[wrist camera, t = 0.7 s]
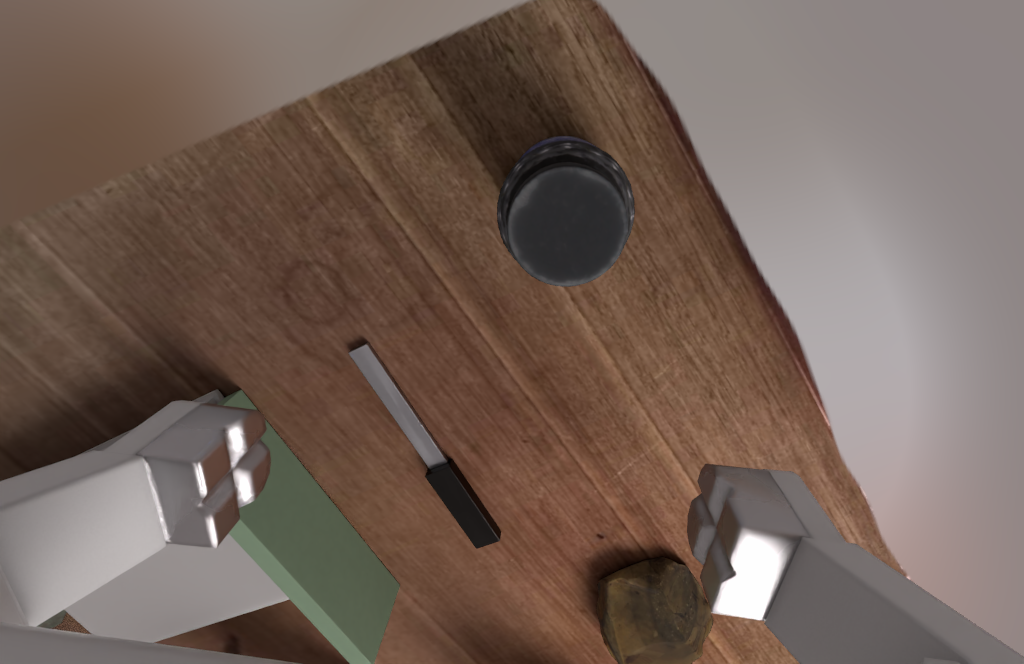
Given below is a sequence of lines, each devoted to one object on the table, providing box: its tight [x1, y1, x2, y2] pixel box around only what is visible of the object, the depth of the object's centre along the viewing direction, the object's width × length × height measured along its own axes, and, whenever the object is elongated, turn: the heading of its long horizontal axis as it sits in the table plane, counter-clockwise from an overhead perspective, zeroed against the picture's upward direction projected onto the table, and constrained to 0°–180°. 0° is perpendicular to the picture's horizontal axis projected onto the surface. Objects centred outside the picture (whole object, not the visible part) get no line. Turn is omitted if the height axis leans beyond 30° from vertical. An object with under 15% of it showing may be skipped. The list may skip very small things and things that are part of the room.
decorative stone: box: [596, 557, 713, 664], centre depth 40 cm, size 10×9×4 cm
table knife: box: [349, 342, 501, 549], centre depth 36 cm, size 19×2×1 cm, turn 28°
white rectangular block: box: [64, 389, 289, 643], centre depth 40 cm, size 18×4×24 cm
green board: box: [217, 390, 400, 664], centre depth 36 cm, size 22×2×7 cm, turn 28°
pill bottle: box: [497, 136, 635, 286], centre depth 24 cm, size 6×6×11 cm
